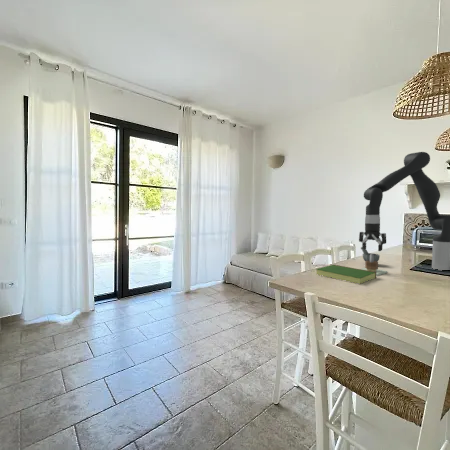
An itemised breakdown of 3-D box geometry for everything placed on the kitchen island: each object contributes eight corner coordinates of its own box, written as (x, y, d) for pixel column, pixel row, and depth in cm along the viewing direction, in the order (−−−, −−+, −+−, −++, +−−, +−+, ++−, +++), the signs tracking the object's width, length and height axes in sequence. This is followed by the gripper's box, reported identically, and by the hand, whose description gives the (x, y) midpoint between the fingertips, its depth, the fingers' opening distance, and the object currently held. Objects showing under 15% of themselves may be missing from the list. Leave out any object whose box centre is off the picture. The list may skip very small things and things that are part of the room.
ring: (368, 266, 151) (368, 260, 151) (379, 268, 146) (379, 261, 146) (363, 268, 148) (363, 261, 148) (374, 270, 143) (374, 263, 143)
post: (366, 268, 156) (366, 251, 155) (387, 272, 146) (387, 254, 145) (355, 271, 149) (356, 253, 148) (377, 275, 139) (377, 256, 138)
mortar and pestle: (380, 264, 168) (380, 246, 167) (378, 266, 160) (378, 248, 160) (361, 262, 175) (362, 245, 174) (358, 264, 167) (359, 246, 167)
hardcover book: (376, 278, 135) (376, 272, 135) (359, 285, 124) (359, 277, 123) (332, 270, 155) (332, 264, 155) (314, 275, 144) (314, 268, 143)
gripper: (388, 222, 142) (388, 251, 143) (363, 221, 154) (363, 248, 155) (382, 223, 138) (381, 252, 139) (356, 222, 150) (356, 249, 151)
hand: (372, 250), depth 147 cm, fingers open, 8 cm apart
